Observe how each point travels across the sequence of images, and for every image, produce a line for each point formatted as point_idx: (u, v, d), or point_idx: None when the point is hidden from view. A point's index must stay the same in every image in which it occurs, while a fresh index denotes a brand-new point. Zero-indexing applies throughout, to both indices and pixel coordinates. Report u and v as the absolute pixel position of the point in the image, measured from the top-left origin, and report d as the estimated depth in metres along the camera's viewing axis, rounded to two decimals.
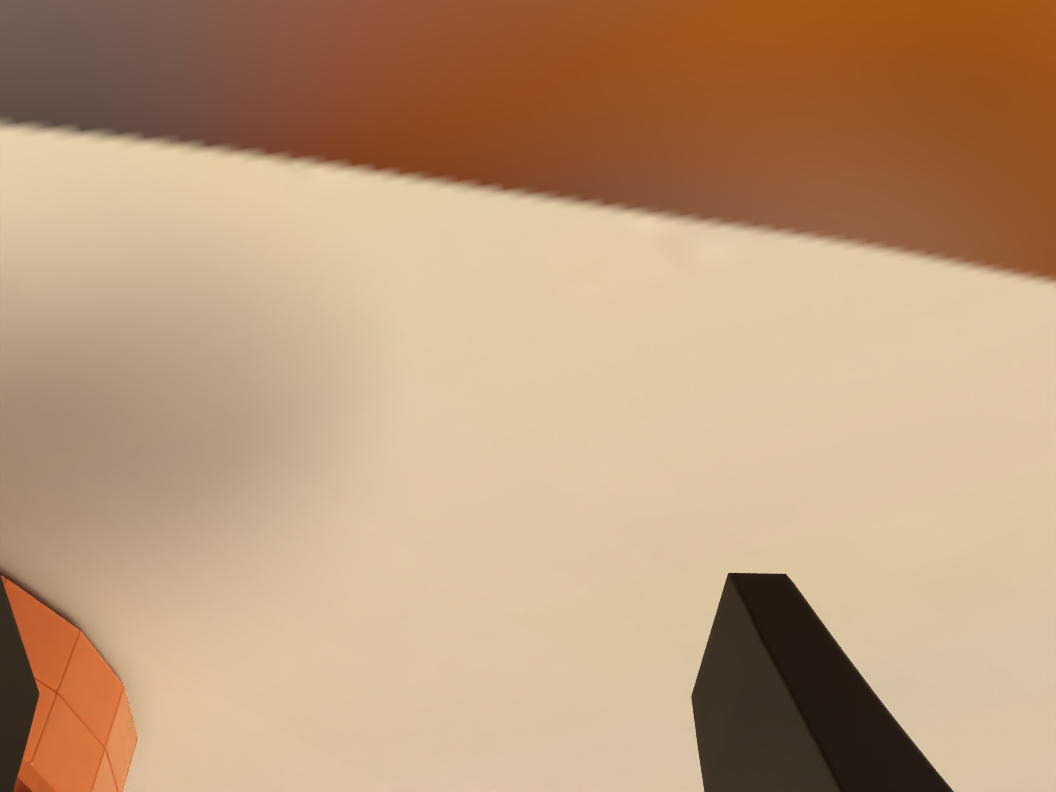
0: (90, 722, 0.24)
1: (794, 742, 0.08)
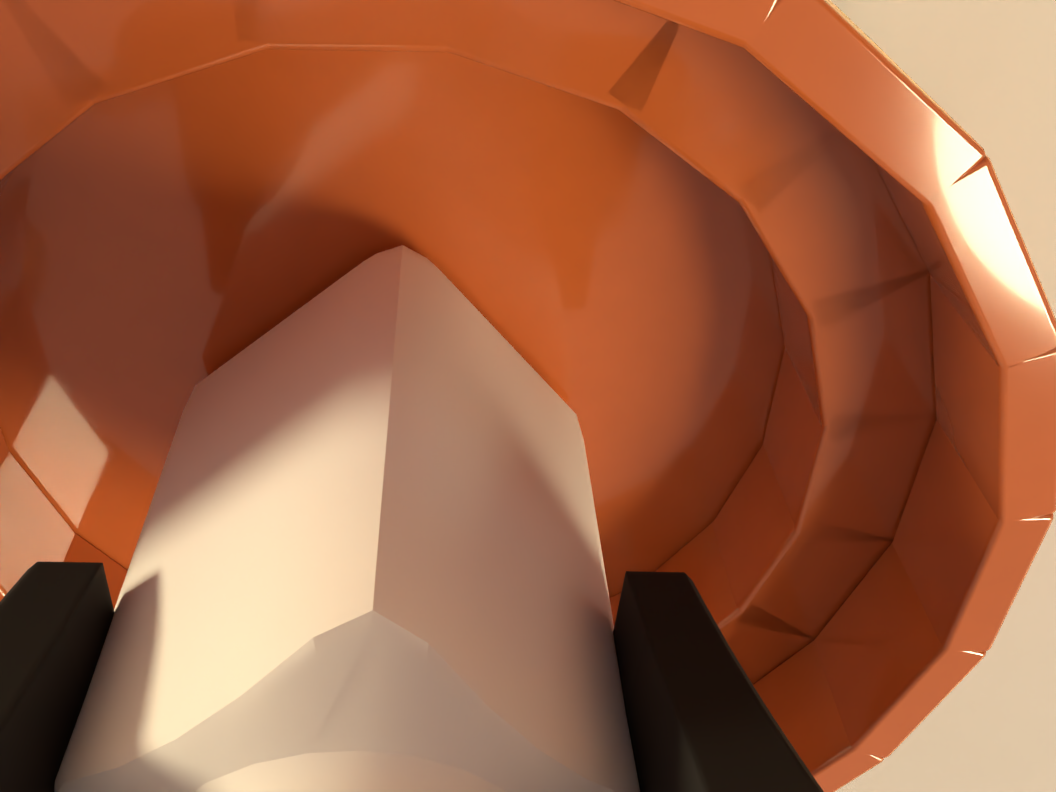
0: None
1: (672, 742, 0.08)
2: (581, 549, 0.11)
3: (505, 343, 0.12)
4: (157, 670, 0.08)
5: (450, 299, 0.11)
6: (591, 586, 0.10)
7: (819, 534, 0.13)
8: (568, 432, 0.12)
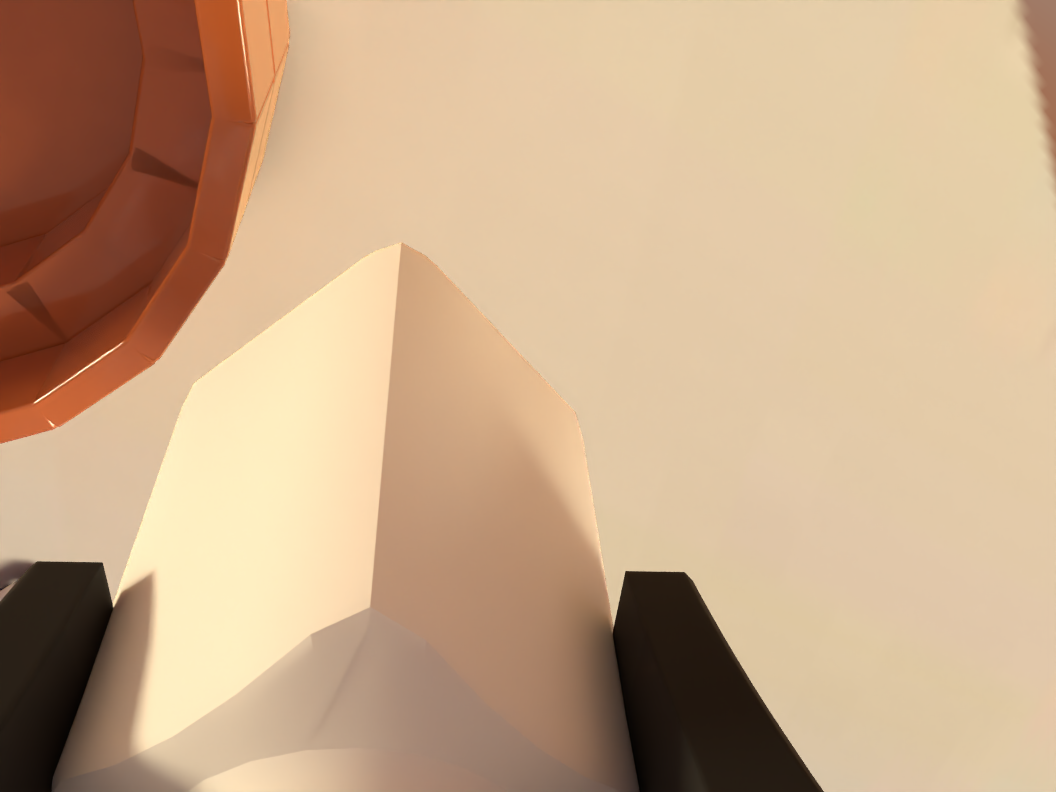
0: None
1: (671, 742, 0.08)
2: (580, 547, 0.11)
3: (504, 341, 0.12)
4: (155, 668, 0.08)
5: (449, 297, 0.11)
6: (590, 584, 0.10)
7: (166, 62, 0.15)
8: (567, 430, 0.12)
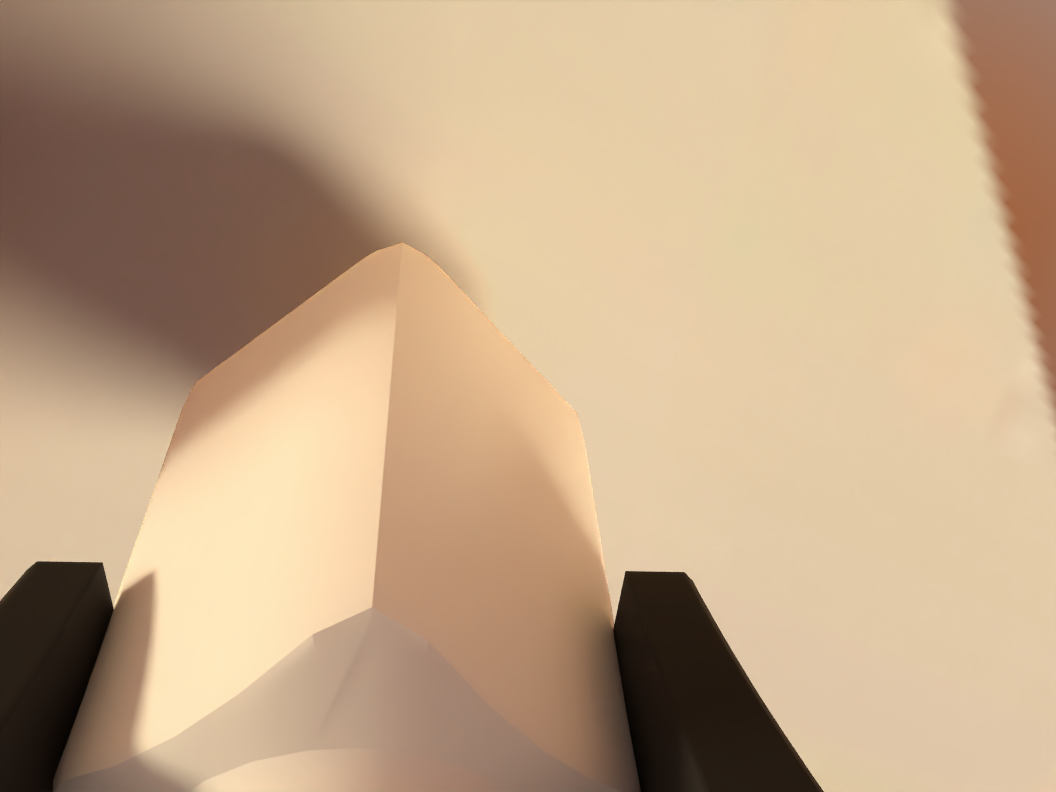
0: None
1: (671, 742, 0.08)
2: (581, 547, 0.11)
3: (505, 341, 0.12)
4: (157, 668, 0.08)
5: (450, 296, 0.11)
6: (591, 584, 0.10)
7: None
8: (568, 430, 0.12)
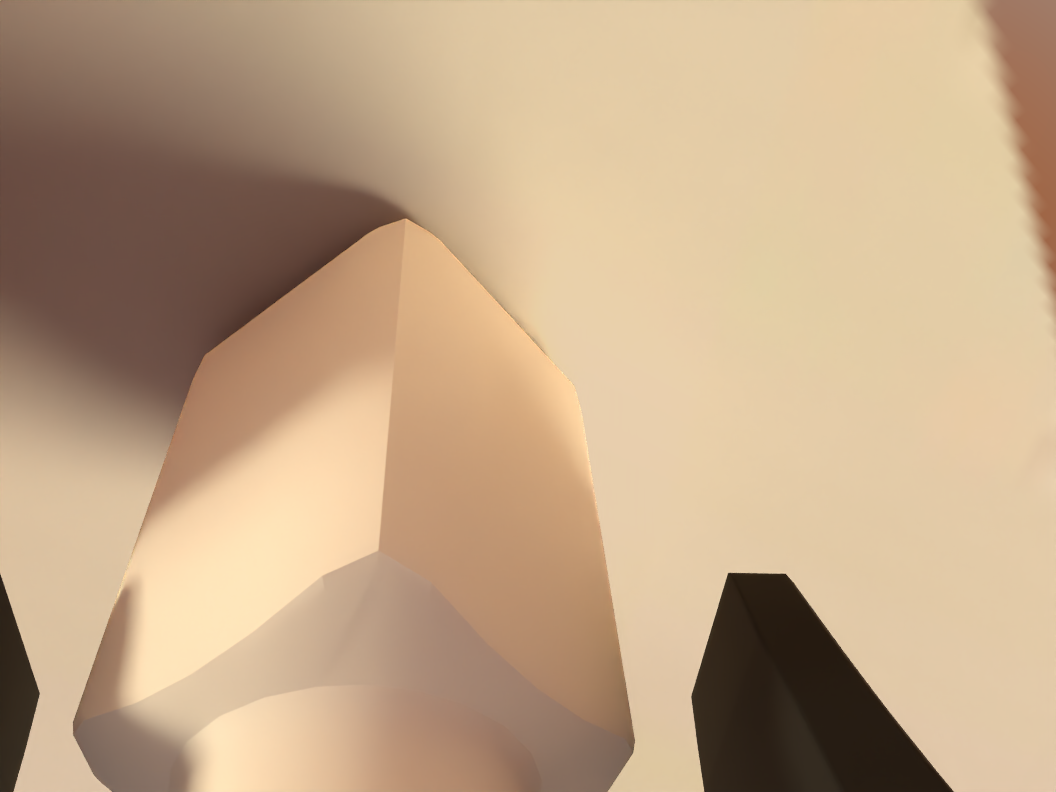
0: None
1: (794, 742, 0.08)
2: (578, 510, 0.11)
3: (505, 314, 0.13)
4: (173, 614, 0.09)
5: (452, 270, 0.12)
6: (587, 544, 0.11)
7: None
8: (566, 401, 0.13)
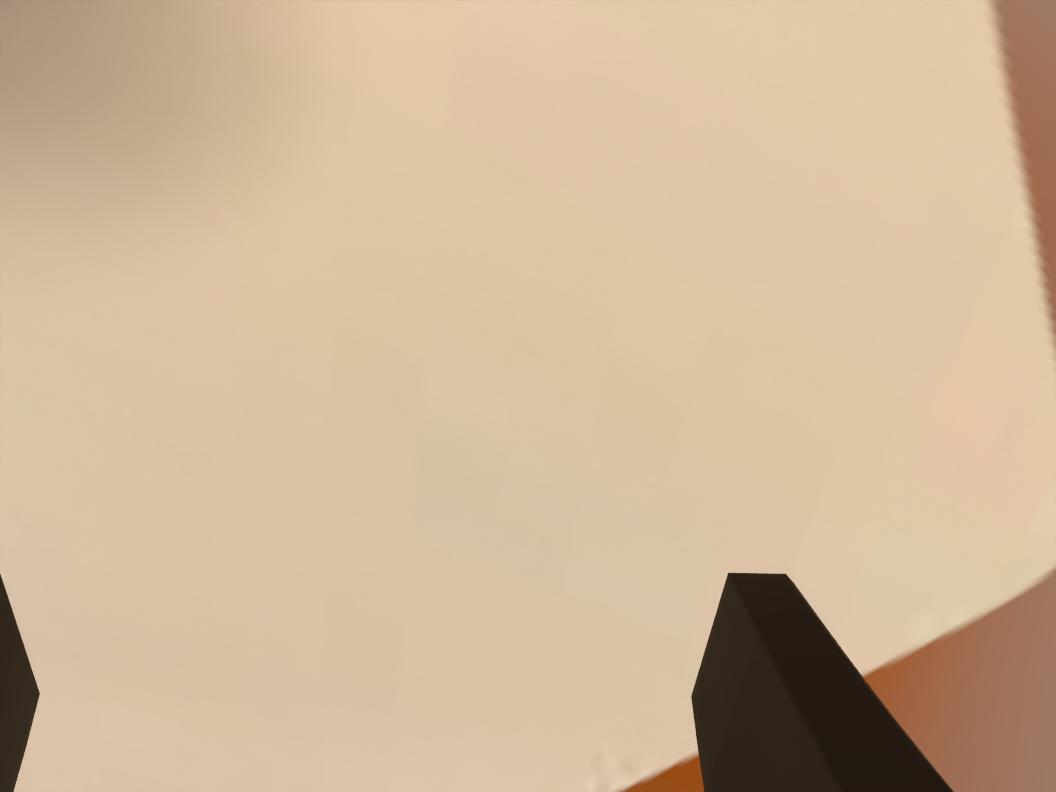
0: None
1: (794, 742, 0.08)
2: None
3: None
4: None
5: None
6: None
7: None
8: None
